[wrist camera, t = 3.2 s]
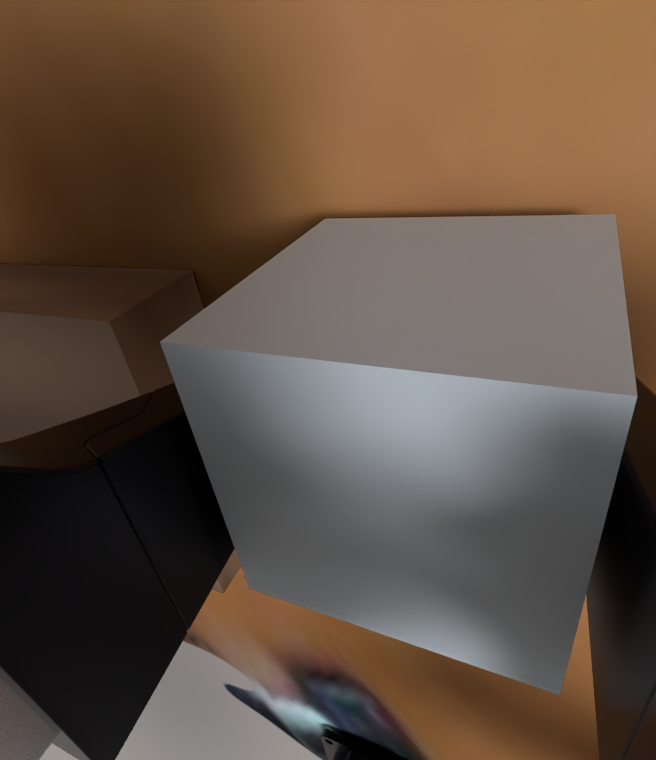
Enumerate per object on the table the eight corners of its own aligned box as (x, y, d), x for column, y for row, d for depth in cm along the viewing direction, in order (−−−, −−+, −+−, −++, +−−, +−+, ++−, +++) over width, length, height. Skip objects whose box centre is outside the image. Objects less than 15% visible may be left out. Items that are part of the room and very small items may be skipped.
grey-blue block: (571, 454, 10) (559, 695, 7) (351, 418, 12) (249, 588, 9) (614, 214, 8) (637, 396, 4) (325, 218, 10) (159, 342, 6)
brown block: (267, 523, 18) (223, 593, 16) (80, 472, 22) (24, 522, 20) (192, 269, 13) (109, 321, 11) (-38, 262, 17) (-133, 298, 15)
